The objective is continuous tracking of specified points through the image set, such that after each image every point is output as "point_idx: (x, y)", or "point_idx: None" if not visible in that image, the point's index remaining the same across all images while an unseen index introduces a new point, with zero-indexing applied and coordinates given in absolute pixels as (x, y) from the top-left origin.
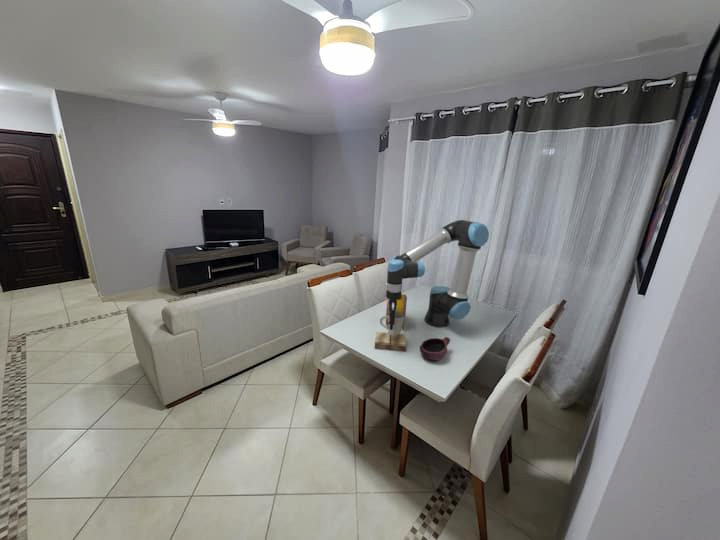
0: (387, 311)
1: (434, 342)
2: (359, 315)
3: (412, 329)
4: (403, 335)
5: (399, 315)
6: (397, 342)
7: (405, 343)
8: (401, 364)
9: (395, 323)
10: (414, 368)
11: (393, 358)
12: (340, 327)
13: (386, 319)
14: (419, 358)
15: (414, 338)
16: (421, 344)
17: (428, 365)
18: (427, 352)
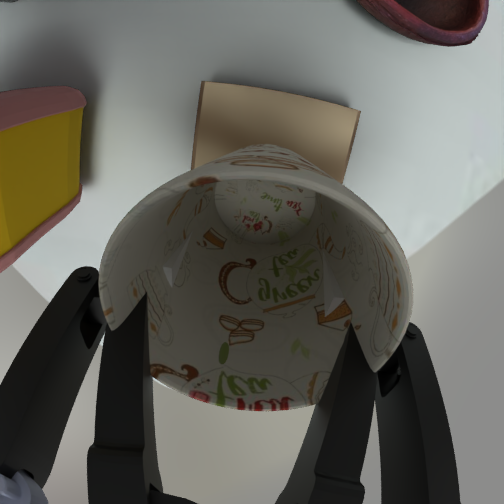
0: (21, 253)
1: None
2: (38, 291)
3: (86, 35)
4: (223, 97)
5: (151, 218)
6: (328, 166)
7: (345, 110)
8: (447, 172)
9: (361, 291)
10: (477, 122)
11: (400, 197)
12: None
13: (60, 220)
14: (414, 56)
15: (187, 20)
16: (409, 18)
17: (463, 46)
18: (476, 33)
